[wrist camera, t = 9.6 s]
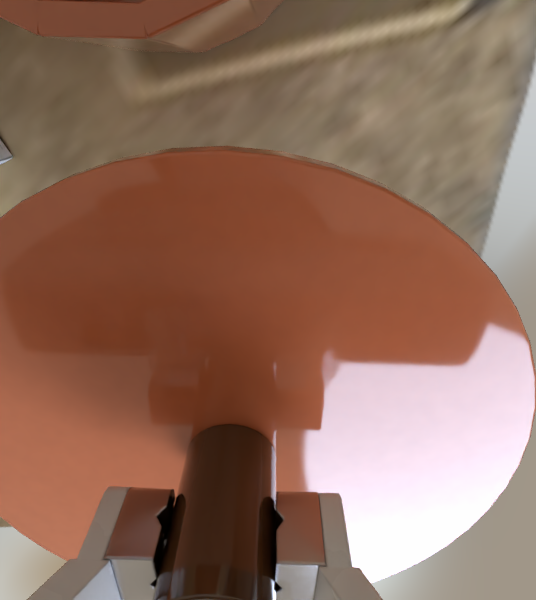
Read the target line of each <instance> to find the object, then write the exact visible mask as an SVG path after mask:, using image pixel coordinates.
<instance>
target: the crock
mask: <svg viewBox="0 0 536 600" xmlns="http://www.w3.org/2000/svg"><path fill="white" fill-rule="evenodd" d="M283 1H284V0H0V18H2V19H4V20H6V21H8V22H11V23H13V24H15V25H17V26H19V27H21V28H23V29H25V30H28V31H30V32H32V33H34V34H36V35H40V36H43V37H50V38H56V39H63V40H70V41H77V42H83V43H90V44H97V45H104V46H110V47H117V48H124V49H131V50H138V51H155V52H190V53H202V52H205V51H207V50H210V49H212V48H214V47H216V46H218V45H221V44H224V43H226V42H229V41H232V40H234V39H235V38H237V37H239V36H241V35H242V34H244V33H246V32H248V31H250V30H253V29H255V28H257V27H259V25H262V23H263V22H264V21H265V20H266V19H267V18H268V17H269V15H270V14H271V13H272V12H273V11H274V10H275V9H276V8H277V7H278V6H279V5H280V4H281V3H282V2H283Z"/></svg>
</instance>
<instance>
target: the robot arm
mask: <svg viewBox="0 0 536 600" xmlns="http://www.w3.org/2000/svg"><path fill="white" fill-rule="evenodd" d="M175 498H176V497H175V492H174V489H162V488H139V487H118V486H109V487H108V488H107V490H106V491H105V492H104V494H103V496H102V499H101V501H100V504H99V506H98V508H97V511H96V513H95V516H94V518H93V521H92V523H91V525H90V528H89V530H88V533H87V535H86V538H85V540H84V543H83V545H82V547H81V550H80V552H79V555H78V557H77V559H69V560H68V561H67V562H66V563H65V564H64V565H63V566H62V567H61V568H60V569H59V570H58V571H57V572H56V573H55V574H53V576H51V577H50V578H49V579H48V580H47V581H46V582H45V583H44V584H43V585H42V586H41V587H40V588H39V589H38V590H37V591H35V593H33V594H32V595H31V596H30V597H29V598H28V599H27V600H152V598H153V594H154V590H155V585H156V581H157V577H158V573H159V568H160V564H161V560H162V555H163V551H164V547H165V543H166V538H167V534H168V530H169V525H170V521H171V517H172V513H173V508H174V503H175ZM275 529H276V542H275V582H276V600H383V599H382V598H381V596H380V595H379V594H378V592H377V591H376V590H375V588H374V587H373V586H372V584H371V583H370V582H369V580H368V579H367V578H366V576H365V575H364V574H363V572H362V571H361V569H360V568H355V567H352V561H351V554H350V548H349V542H348V535H347V529H346V523H345V517H344V510H343V504H342V498H341V496H340V494H339V493H317V492H276V497H275Z"/></svg>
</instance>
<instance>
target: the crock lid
mask: <svg viewBox="0 0 536 600" xmlns="http://www.w3.org/2000/svg"><path fill="white" fill-rule="evenodd" d="M535 411H536V371H535V366H534V360H533V355H532V350H531V345H530V340H529V338H528V335H527V333H526V330H525V328H524V325H523V323H522V320H521V318H520V315H519V312H518V310H517V308H516V306H515V305H514V303H513V301H512V300H511V298H510V297H509V295H508V293H507V292H506V290H505V289H504V287H503V285H502V284H501V282H500V280H499V279H498V277H497V276H496V275H495V274H494V272H493V271H492V270H491V269H490V268H489V267H488V266H487V264H486V263H485V262H484V261H483V260H482V259H481V258H480V257H479V256H478V254H477V253H476V252H475V251H474V250H473V249H472V248H471V247H470V246H469V244H468V243H467V242H466V241H464V240H463V239H462V238H461V237H460V236H459V235H458V234H456V233H455V232H454V231H453V230H451V229H450V228H449V227H448V226H446V225H445V224H444V223H443V222H441V221H440V220H439V219H438V218H436V217H435V216H434V215H433V214H431V213H430V212H429V211H428V210H426V209H425V208H424V207H422V206H421V205H419V204H417V203H415V202H414V201H412V200H410V199H408V198H407V197H405V196H403V195H401V194H400V193H398V192H396V191H394V190H393V189H391V188H389V187H387V186H386V185H384V184H382V183H380V182H378V181H375V180H373V179H370V178H368V177H365V176H363V175H360V174H358V173H355V172H352V171H350V170H347V169H345V168H342V167H340V166H337V165H335V164H332V163H327V162H323V161H319V160H315V159H311V158H307V157H303V156H298V155H294V154H290V153H286V152H282V151H273V150H262V149H252V148H242V147H232V146H214V147H189V148H171V149H166V150H160V151H155V152H149V153H144V154H138V155H133V156H127V157H122V158H119V159H116V160H113V161H110V162H107V163H104V164H101V165H98V166H95V167H92V168H89V169H87V170H84V171H81V172H78V173H75V174H73V175H71V176H69V177H67V178H65V179H63V180H61V181H59V182H57V183H55V184H53V185H52V186H50V187H48V188H46V189H44V190H42V191H40V192H38V193H36V194H35V195H33V196H31V197H29V198H27V199H25V200H23V201H21V202H20V203H19V204H17V205H16V206H15V207H13V208H12V209H11V210H10V211H8V212H7V213H6V214H4V215H3V216H2V217H0V517H1V518H3V519H4V520H5V521H6V522H8V523H9V524H10V525H11V526H13V527H14V528H15V529H16V530H18V531H19V532H20V533H22V534H23V535H25V536H26V537H28V538H29V539H31V540H32V541H34V542H35V543H37V544H38V545H40V546H41V547H43V548H44V549H46V550H48V551H50V552H52V553H53V554H55V555H57V556H59V557H61V558H63V559H64V560H66V561H68V560H69V559H77V557H78V555H79V552H80V550H81V547H82V545H83V543H84V540H85V538H86V535H87V533H88V530H89V528H90V525H91V523H92V521H93V518H94V516H95V513H96V511H97V508H98V506H99V504H100V501H101V499H102V496H103V494H104V492H105V491H106V490H107V488H108V487H109V486H118V487H139V488H162V489H174V492H175V497H176V498H175V503H174V508H173V513H172V517H171V521H170V525H169V530H168V534H167V538H166V543H165V547H164V551H163V555H162V560H161V564H160V568H159V573H158V577H157V581H156V585H155V590H154V594H153V598H152V600H276V582H275V542H276V529H275V497H276V492H317V493H339V494H340V496H341V498H342V504H343V510H344V517H345V523H346V529H347V535H348V542H349V548H350V554H351V561H352V567H355V568H360V569H361V571H362V572H363V574H364V575H365V576H366V578H367V579H368V580H369V582H370V583H374V582H377V581H379V580H382V579H384V578H387V577H390V576H392V575H395V574H397V573H400V572H402V571H404V570H405V569H408V568H410V567H411V566H414V565H416V564H417V563H420V562H422V561H424V560H425V559H427V558H429V557H430V556H432V555H434V554H435V553H437V552H438V551H440V550H442V549H443V548H445V547H446V546H448V545H449V544H450V543H452V542H453V541H454V540H456V539H457V538H458V537H460V536H461V535H462V534H463V533H465V532H466V531H467V530H468V529H470V528H471V527H472V526H473V525H474V524H475V523H476V522H477V521H478V520H479V519H480V518H481V517H482V516H483V515H484V514H485V513H486V512H487V511H488V510H489V509H490V508H491V506H492V505H493V504H494V503H495V501H496V500H497V499H498V498H499V496H500V495H501V494H502V492H503V491H504V490H505V488H506V487H507V486H508V484H509V482H510V480H511V479H512V477H513V475H514V473H515V472H516V470H517V468H518V466H519V465H520V463H521V460H522V458H523V455H524V452H525V450H526V447H527V445H528V441H529V439H530V437H531V431H532V426H533V421H534V416H535Z"/></svg>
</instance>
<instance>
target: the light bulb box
mask: <svg viewBox="0 0 536 600" xmlns="http://www.w3.org/2000/svg"><path fill="white" fill-rule="evenodd" d="M12 158H13V155H12V154H11V153H10V152H9V151H8V149H7V148H6V146H5V145H4V144H3V142H2V141H1V139H0V164H2V163H4V162H6V161H8V160H10V159H12Z"/></svg>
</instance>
